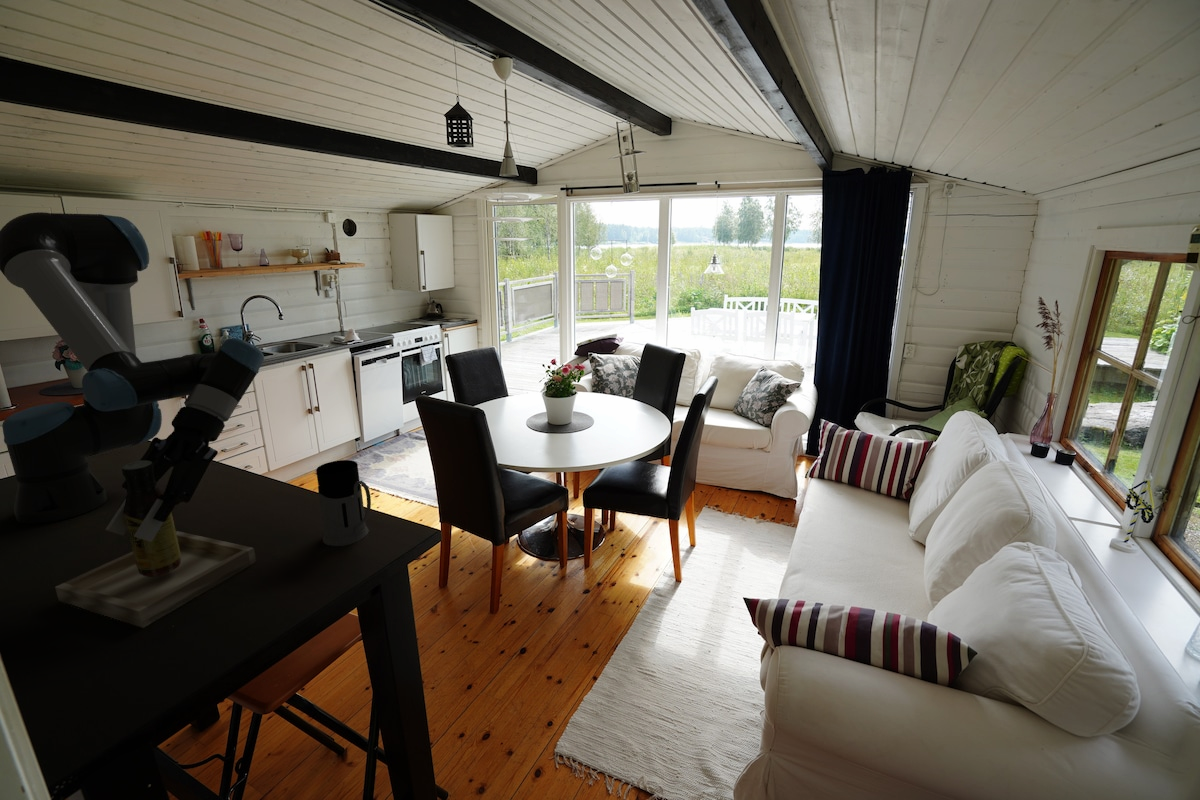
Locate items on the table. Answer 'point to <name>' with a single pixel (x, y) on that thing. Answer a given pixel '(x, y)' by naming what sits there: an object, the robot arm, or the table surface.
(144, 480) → the sauce bottle
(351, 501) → the glass holder
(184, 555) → the birch tray
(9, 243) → the robot arm
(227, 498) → the table surface
